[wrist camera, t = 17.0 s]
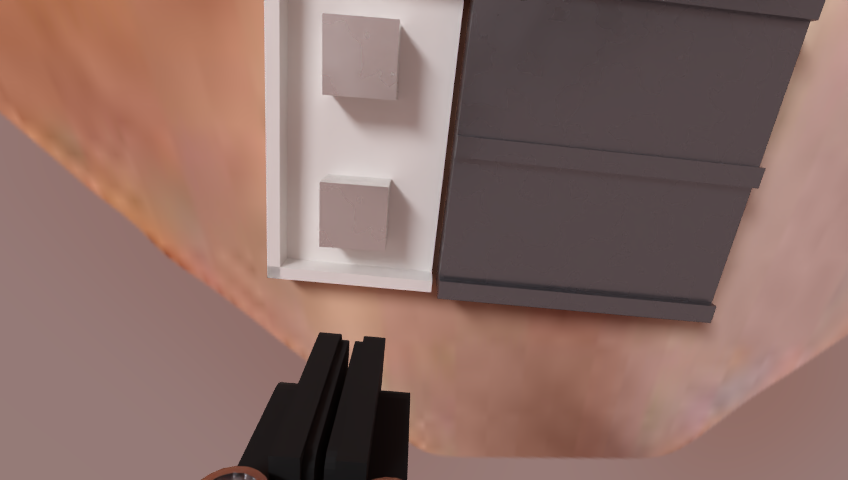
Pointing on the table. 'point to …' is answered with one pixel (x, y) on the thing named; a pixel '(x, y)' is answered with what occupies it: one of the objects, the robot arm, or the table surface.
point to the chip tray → (357, 141)
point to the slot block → (610, 149)
